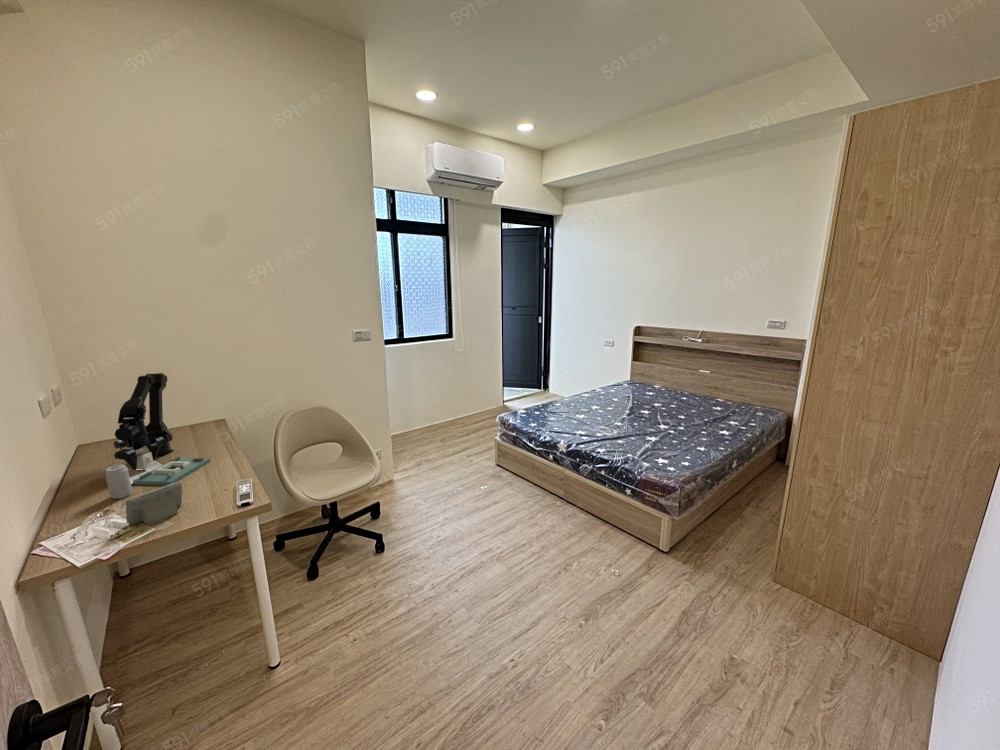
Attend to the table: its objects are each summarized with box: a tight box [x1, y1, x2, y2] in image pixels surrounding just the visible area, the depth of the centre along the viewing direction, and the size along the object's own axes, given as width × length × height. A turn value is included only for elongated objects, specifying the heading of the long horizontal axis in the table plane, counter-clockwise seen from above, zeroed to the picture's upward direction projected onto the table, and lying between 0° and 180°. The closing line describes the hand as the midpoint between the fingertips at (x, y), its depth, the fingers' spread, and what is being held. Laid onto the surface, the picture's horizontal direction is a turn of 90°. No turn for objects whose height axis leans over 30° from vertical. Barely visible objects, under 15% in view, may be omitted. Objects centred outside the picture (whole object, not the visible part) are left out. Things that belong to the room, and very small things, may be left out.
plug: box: [135, 451, 155, 471], centre depth 179 cm, size 4×6×7 cm
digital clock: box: [125, 481, 183, 526], centre depth 143 cm, size 16×9×11 cm, turn 138°
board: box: [132, 456, 211, 486], centre depth 176 cm, size 22×16×3 cm
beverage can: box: [104, 464, 134, 500], centre depth 156 cm, size 6×6×12 cm
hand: (144, 465), depth 180 cm, fingers open, 9 cm apart
